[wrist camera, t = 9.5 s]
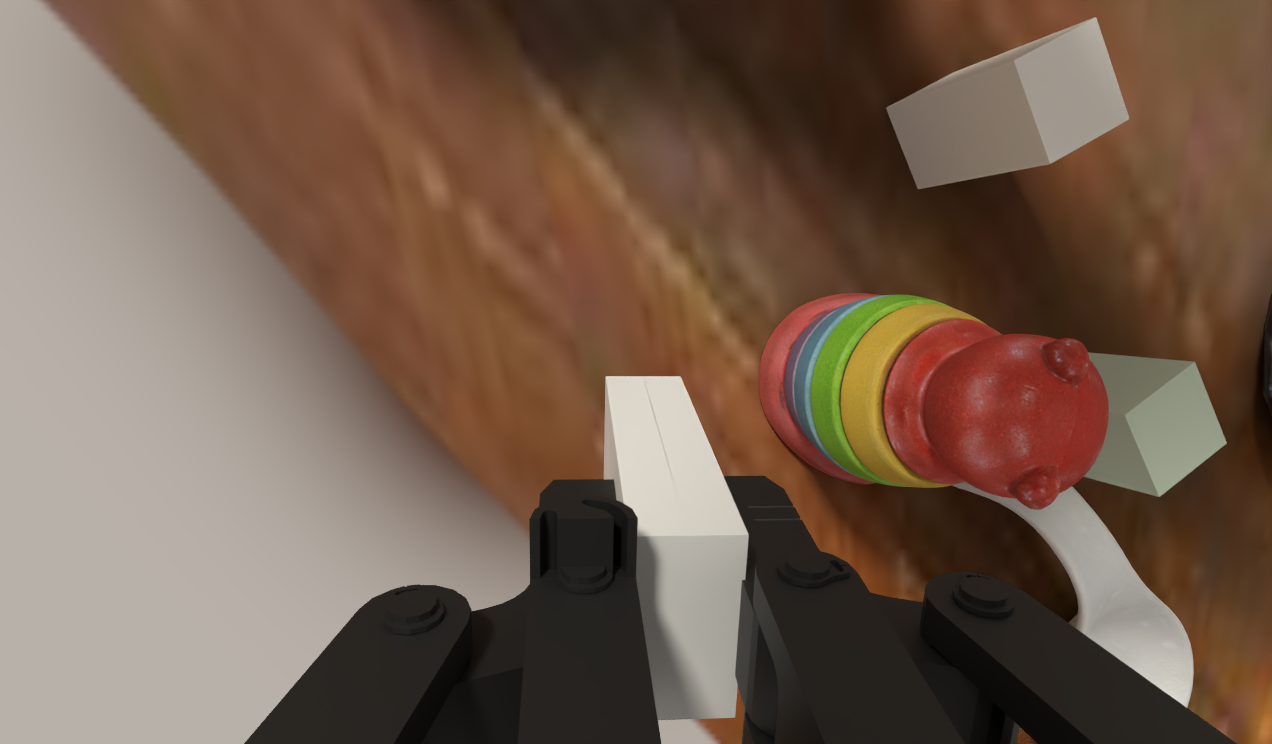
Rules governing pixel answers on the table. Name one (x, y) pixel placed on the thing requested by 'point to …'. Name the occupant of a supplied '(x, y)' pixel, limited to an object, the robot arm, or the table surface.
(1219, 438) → the sage-green block
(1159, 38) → the table surface
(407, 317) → the table surface
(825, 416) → the stacking bear
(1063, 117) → the off-white block
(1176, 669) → the spoon rest
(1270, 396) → the tree stump
